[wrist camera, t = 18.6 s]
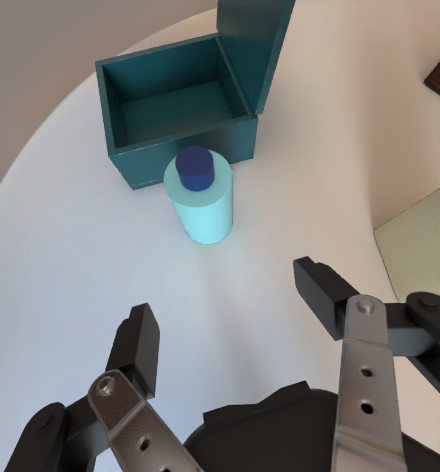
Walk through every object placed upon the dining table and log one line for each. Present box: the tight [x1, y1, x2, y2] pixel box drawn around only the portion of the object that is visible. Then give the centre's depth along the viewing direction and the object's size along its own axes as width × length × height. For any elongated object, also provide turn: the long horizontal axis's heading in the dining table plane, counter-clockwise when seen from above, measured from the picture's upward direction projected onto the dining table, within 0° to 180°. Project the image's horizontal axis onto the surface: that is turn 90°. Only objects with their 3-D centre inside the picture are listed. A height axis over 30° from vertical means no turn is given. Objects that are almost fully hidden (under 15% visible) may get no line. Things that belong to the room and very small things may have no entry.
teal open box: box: [95, 32, 258, 190], centre depth 30 cm, size 16×15×6 cm
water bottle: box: [163, 146, 233, 244], centre depth 23 cm, size 6×6×11 cm
